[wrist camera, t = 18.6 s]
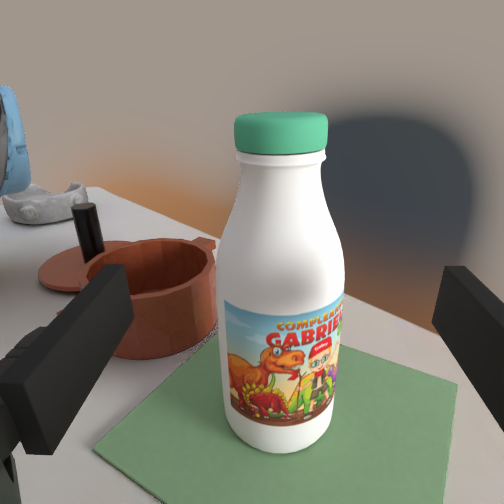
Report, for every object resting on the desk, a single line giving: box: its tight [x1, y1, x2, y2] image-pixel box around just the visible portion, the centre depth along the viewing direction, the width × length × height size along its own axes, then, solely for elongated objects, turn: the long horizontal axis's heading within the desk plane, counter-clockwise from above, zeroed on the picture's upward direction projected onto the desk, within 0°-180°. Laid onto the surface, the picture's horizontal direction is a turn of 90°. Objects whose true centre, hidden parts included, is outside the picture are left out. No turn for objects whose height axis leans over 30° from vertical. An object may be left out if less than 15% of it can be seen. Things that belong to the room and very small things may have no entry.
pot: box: [57, 237, 217, 360], centre depth 35 cm, size 12×18×6 cm
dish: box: [2, 182, 88, 224], centre depth 67 cm, size 14×14×5 cm
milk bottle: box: [215, 112, 345, 453], centre depth 22 cm, size 8×8×20 cm
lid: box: [38, 203, 132, 291], centre depth 45 cm, size 13×13×9 cm
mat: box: [92, 332, 457, 504], centre depth 25 cm, size 20×18×1 cm
